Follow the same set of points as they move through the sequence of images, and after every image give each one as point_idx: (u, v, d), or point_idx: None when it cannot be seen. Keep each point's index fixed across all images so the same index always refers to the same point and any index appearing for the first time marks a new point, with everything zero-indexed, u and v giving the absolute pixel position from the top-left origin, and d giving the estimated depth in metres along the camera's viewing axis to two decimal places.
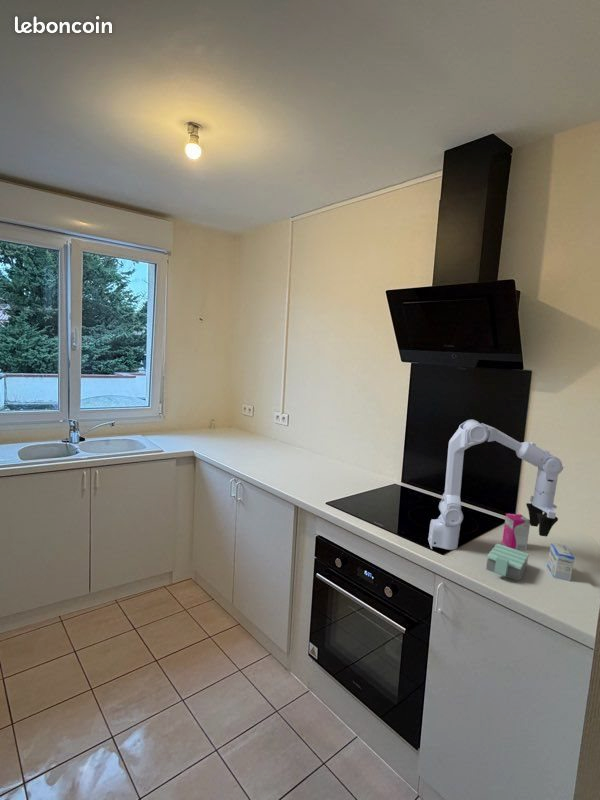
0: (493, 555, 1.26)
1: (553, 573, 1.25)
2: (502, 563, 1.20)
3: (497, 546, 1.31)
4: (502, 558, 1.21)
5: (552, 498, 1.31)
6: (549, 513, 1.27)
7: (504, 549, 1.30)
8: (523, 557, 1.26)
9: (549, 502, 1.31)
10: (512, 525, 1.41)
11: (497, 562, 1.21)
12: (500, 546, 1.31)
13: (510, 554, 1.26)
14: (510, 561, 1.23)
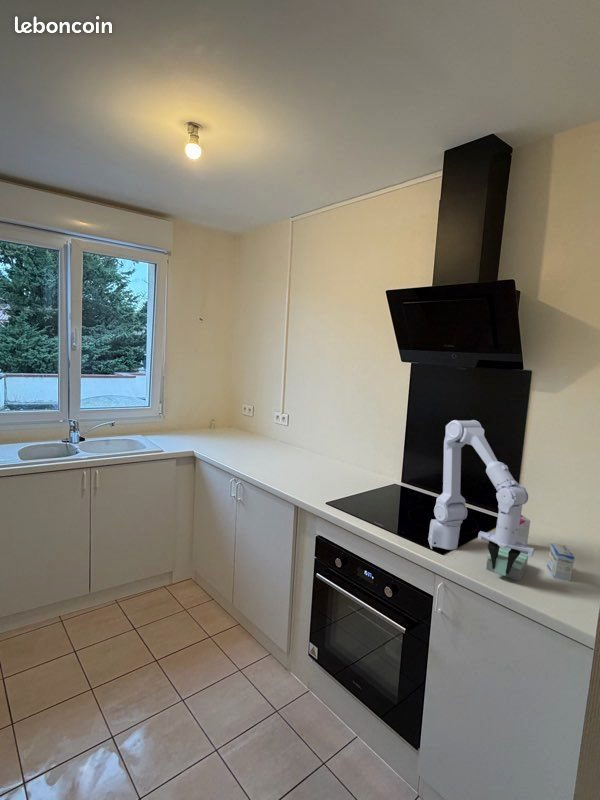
0: None
1: (553, 573, 1.25)
2: (502, 563, 1.20)
3: None
4: (502, 558, 1.21)
5: (496, 529, 1.20)
6: None
7: (504, 549, 1.30)
8: (523, 557, 1.26)
9: None
10: None
11: (497, 562, 1.21)
12: None
13: None
14: None
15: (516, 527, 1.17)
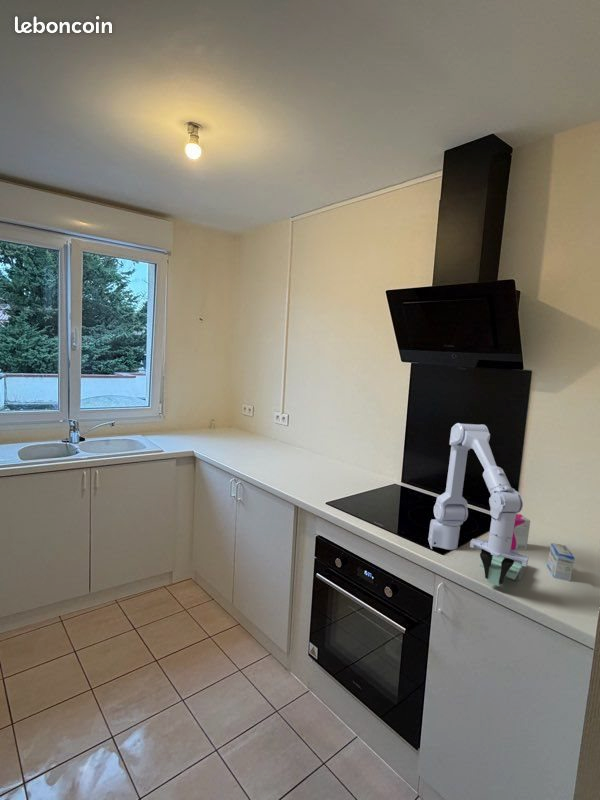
0: None
1: (553, 573, 1.25)
2: (495, 573, 1.14)
3: None
4: (495, 567, 1.15)
5: (489, 537, 1.14)
6: None
7: (498, 557, 1.24)
8: (517, 566, 1.20)
9: (488, 540, 1.15)
10: None
11: (490, 571, 1.15)
12: None
13: None
14: None
15: (507, 535, 1.11)
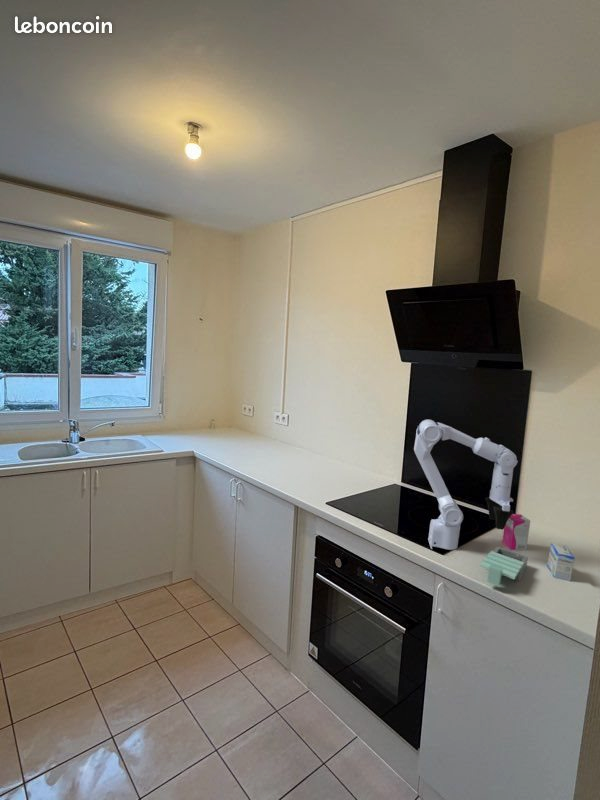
0: (486, 564, 1.20)
1: (553, 573, 1.25)
2: (495, 573, 1.14)
3: (491, 554, 1.26)
4: (495, 567, 1.15)
5: (508, 491, 1.33)
6: (504, 506, 1.29)
7: (498, 557, 1.24)
8: (517, 566, 1.20)
9: (504, 495, 1.33)
10: (512, 525, 1.41)
11: (490, 571, 1.15)
12: (494, 554, 1.26)
13: (504, 563, 1.21)
14: (504, 570, 1.17)
15: None
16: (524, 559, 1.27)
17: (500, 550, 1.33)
